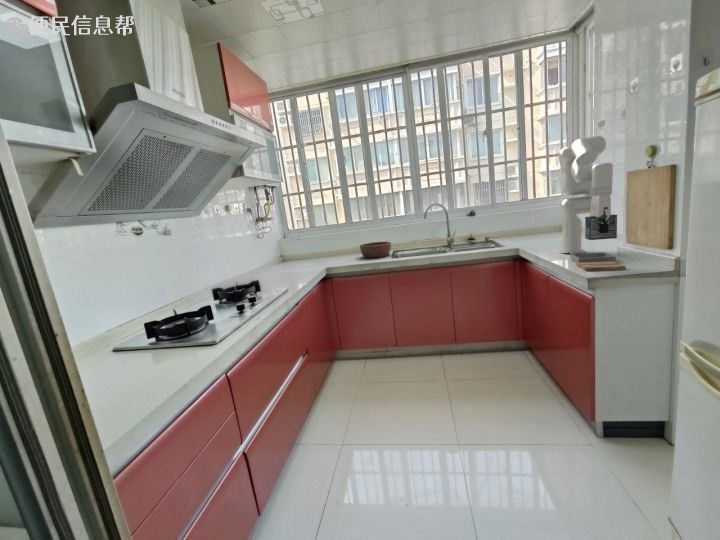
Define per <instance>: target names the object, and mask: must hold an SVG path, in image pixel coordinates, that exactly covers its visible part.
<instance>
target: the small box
mask: <svg viewBox="0 0 720 540" xmlns="http://www.w3.org/2000/svg"><path fill="white" fill-rule="evenodd" d="M602 217H605V216H602ZM584 218H585V223H584V227H585V228H584V229H585V233H584V234H585V235H584V236H585V237H584V238H585V239H586V240H588V241H594V240H595V241H597V240H609V239H617V238H618V215H617V214H611V215H610V217H609V226H608V233H600V232H599V230H600V224H601V222H600V217H599V218H597V217H596V216H585V217H584Z"/></svg>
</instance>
